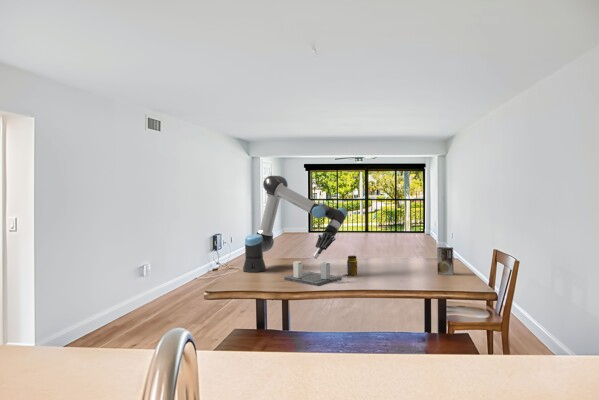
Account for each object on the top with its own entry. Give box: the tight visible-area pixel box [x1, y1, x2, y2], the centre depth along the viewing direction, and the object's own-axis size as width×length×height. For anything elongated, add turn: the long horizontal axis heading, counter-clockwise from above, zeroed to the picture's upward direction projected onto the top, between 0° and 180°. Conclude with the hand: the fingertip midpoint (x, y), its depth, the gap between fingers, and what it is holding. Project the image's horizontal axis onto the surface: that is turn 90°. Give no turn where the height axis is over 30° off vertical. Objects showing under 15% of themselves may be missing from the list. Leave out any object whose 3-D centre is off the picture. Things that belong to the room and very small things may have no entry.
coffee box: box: [436, 246, 455, 276], centre depth 263 cm, size 9×6×16 cm
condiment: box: [342, 255, 361, 278], centre depth 264 cm, size 7×8×12 cm
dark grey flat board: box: [283, 271, 343, 287], centre depth 254 cm, size 26×22×2 cm
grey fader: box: [320, 261, 331, 279], centre depth 248 cm, size 4×4×9 cm
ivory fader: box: [292, 261, 303, 278], centre depth 253 cm, size 4×4×9 cm
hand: (314, 257), depth 263 cm, fingers closed
